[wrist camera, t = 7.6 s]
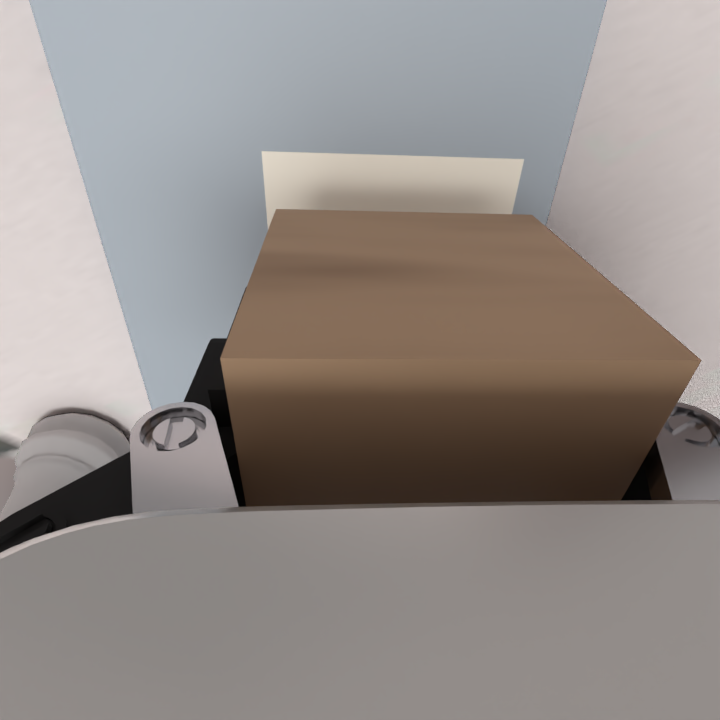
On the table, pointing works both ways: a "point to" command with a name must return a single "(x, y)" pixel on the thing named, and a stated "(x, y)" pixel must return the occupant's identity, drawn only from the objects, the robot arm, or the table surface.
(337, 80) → the build board
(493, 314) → the walnut cube
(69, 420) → the rook chess piece
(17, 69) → the table surface
